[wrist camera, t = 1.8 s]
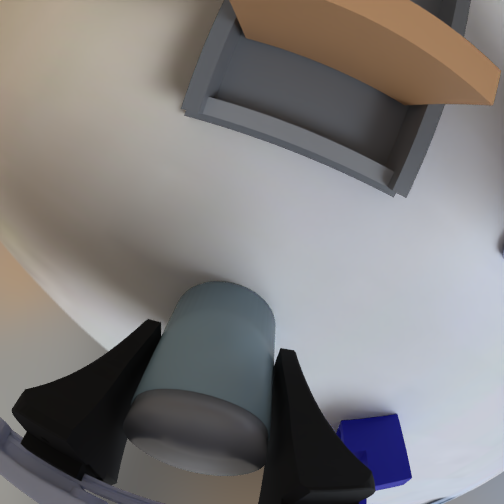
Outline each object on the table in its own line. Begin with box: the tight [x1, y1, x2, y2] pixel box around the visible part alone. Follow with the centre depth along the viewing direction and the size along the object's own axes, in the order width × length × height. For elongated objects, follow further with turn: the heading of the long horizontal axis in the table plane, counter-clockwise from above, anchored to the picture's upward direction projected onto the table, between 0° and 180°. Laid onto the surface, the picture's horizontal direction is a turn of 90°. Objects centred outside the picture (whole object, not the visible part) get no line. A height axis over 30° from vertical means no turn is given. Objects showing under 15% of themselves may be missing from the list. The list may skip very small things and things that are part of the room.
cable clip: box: [336, 414, 412, 504], centre depth 17 cm, size 12×4×6 cm, turn 2°
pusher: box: [229, 0, 501, 106], centre depth 5 cm, size 6×1×5 cm, turn 70°
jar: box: [123, 281, 275, 476], centre depth 11 cm, size 5×5×7 cm
